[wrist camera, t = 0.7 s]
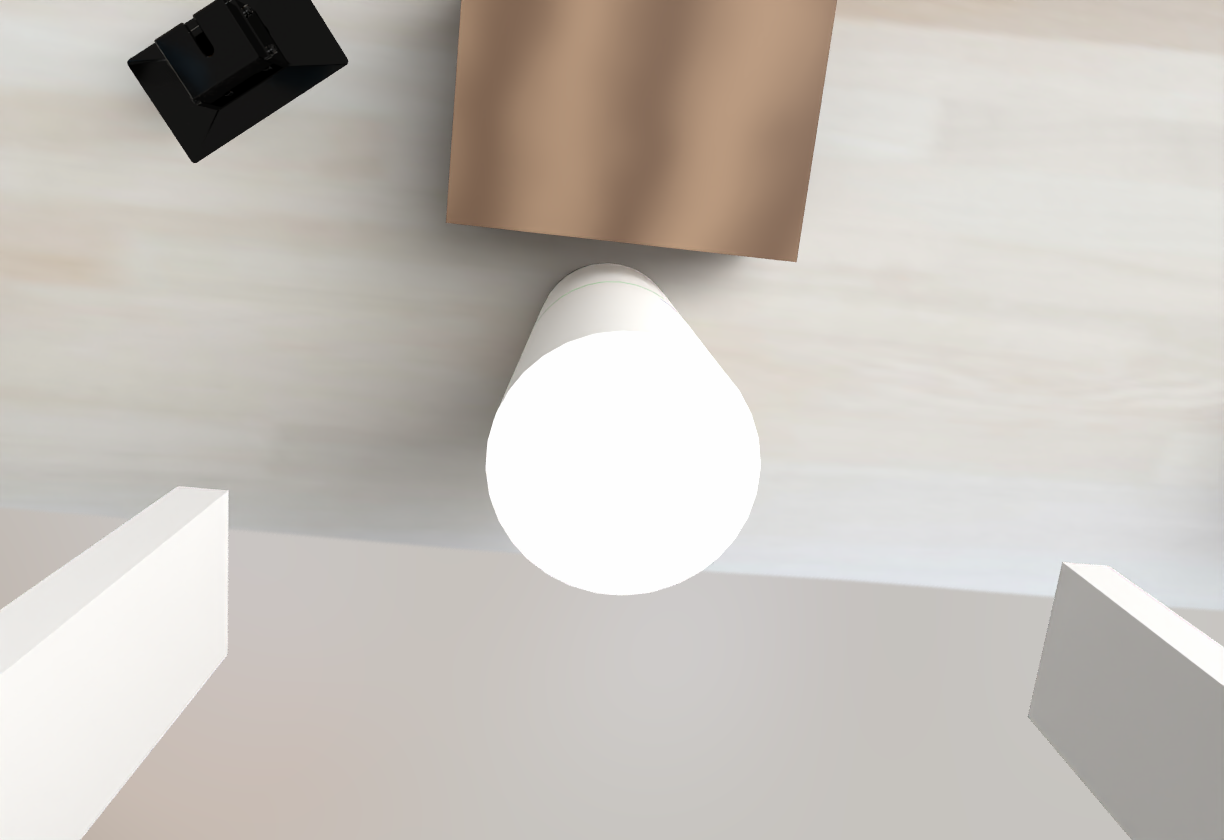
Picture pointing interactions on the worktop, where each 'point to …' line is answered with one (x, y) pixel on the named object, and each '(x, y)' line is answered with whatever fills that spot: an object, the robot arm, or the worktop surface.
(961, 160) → the worktop surface
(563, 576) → the cylindrical container
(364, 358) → the worktop surface
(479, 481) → the worktop surface
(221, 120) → the black box
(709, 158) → the brown flat-topped stand
